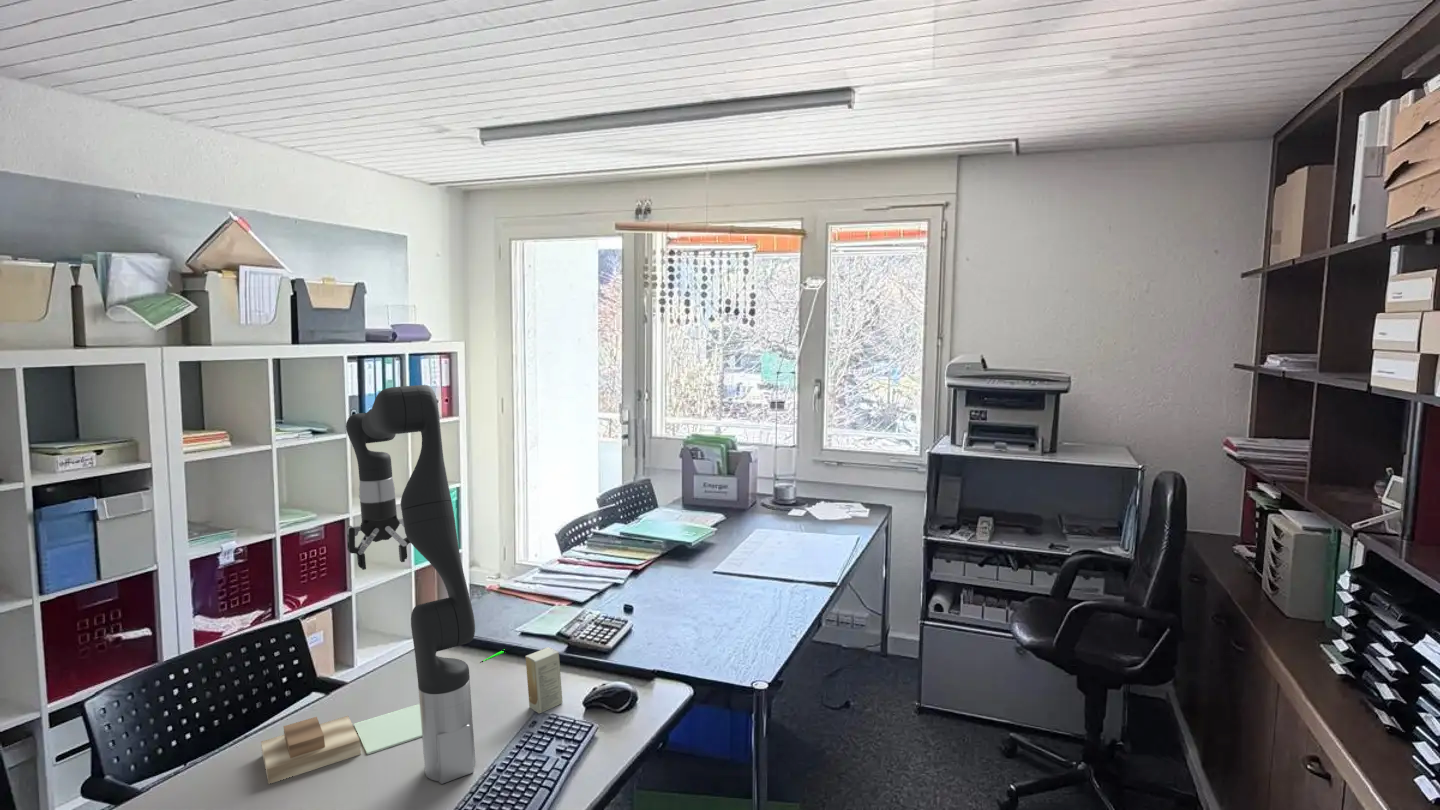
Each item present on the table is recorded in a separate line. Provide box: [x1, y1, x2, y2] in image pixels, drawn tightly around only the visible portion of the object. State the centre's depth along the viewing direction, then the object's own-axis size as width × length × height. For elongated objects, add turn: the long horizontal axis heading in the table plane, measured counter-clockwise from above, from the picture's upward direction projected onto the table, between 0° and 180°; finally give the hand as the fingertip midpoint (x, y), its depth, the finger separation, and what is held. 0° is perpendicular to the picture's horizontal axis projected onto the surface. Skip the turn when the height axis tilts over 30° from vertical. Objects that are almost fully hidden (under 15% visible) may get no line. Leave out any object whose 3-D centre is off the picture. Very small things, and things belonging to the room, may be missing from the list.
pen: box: [481, 650, 505, 663], centre depth 199 cm, size 1×14×1 cm, turn 144°
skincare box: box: [525, 646, 563, 714], centre depth 170 cm, size 6×4×12 cm
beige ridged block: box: [260, 715, 362, 785], centre depth 154 cm, size 12×16×3 cm
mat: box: [353, 703, 422, 755], centre depth 165 cm, size 14×20×1 cm
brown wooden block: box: [283, 716, 325, 758], centre depth 153 cm, size 9×6×2 cm, turn 36°
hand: (383, 565), depth 181 cm, fingers open, 8 cm apart
